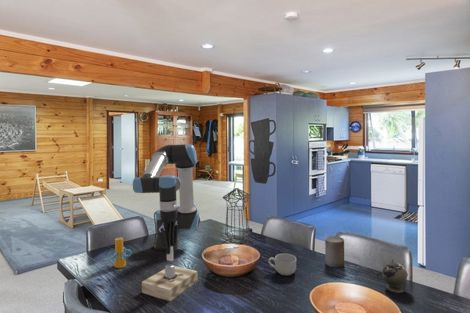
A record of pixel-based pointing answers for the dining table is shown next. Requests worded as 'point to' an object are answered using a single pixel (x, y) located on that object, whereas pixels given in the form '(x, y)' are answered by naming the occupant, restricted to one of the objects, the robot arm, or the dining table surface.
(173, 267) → the grey metal peg
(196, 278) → the jig
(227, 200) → the geometric lantern
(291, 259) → the teacup
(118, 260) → the orange post with rings
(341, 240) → the pillar candle
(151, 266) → the dining table surface
